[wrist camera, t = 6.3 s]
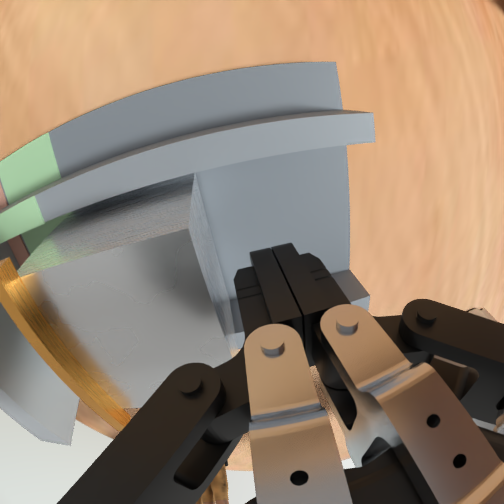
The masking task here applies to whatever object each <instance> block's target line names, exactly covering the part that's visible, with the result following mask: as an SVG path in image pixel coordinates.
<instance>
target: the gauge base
mask: <svg viewBox="0 0 504 504" xmlns="http://www.w3.org/2000/svg"><path fill="white" fill-rule="evenodd" d="M372 142H375V129H374V117H373V113H370V112H361V111H351V110H343V108H342V100H341V93H340V86H339V79H338V73H337V67H336V62H303V63H287V64H275V65H265V66H256V67H249V68H242V69H235V70H229V71H224V72H218V73H213V74H208V75H203V76H199V77H194V78H190V79H186V80H182V81H178V82H174V83H171V84H167V85H163V86H160V87H157V88H153V89H150V90H147V91H144V92H141V93H138V94H135V95H132V96H129V97H126V98H124V99H121V100H118V101H115V102H113V103H110V104H108V105H105V106H103V107H100V108H98V109H96V110H93V111H91V112H89V113H86V114H84V115H82V116H80V117H78V118H76V119H74V120H71V121H69V122H67V123H65V124H63V125H61V126H59V127H57V128H56V129H54V130H52V131H50V132H48V133H46V134H44V135H42V136H40V137H39V138H37V139H35V140H33V141H32V142H30V143H28V144H27V145H25V146H23V147H22V148H20V149H19V150H17V151H16V152H14V153H12V154H11V155H9V156H8V157H6V158H5V159H4V160H2V161H1V162H0V261H1V260H3V259H5V258H8V257H10V259H11V261H12V263H13V265H14V267H15V269H16V271H18V269H19V268H20V267H21V266H22V264H23V263H24V262H25V261H26V260H27V258H28V257H29V256H30V255H31V254H32V253H33V252H34V250H35V249H36V248H37V247H38V246H39V245H40V244H41V243H42V242H43V240H44V239H45V238H46V237H47V236H48V235H49V234H50V233H51V232H52V231H53V230H54V229H55V228H56V227H57V226H58V225H59V224H60V223H61V222H62V221H63V220H64V219H65V218H66V217H67V216H68V215H69V214H70V213H71V212H72V211H75V210H77V209H80V208H83V207H85V206H88V205H91V204H93V203H96V202H99V201H102V200H105V199H108V198H111V197H114V196H117V195H120V194H123V193H126V192H129V191H132V190H135V189H139V188H142V187H145V186H148V185H152V184H155V183H159V182H162V181H166V180H169V179H173V178H177V177H180V176H184V175H188V174H192V173H196V177H197V181H198V185H199V189H200V193H201V197H202V201H203V205H204V209H205V213H206V216H207V220H208V224H209V228H210V231H211V235H212V239H213V243H214V246H215V250H216V253H217V257H218V261H219V264H220V268H221V271H222V275H223V278H224V282H225V285H226V289H227V292H228V296H229V300H230V306H231V312H232V318H233V323H234V329H235V335H236V341H237V346H238V349H241V348H242V346H243V344H244V341H245V334H244V329H243V324H242V319H241V314H240V310H239V305H238V300H237V295H236V290H235V285H234V280H233V279H234V277H235V275H236V272H237V270H238V269H242V268H246V267H250V266H252V265H251V260H250V255H249V252H251V251H256V250H260V249H264V248H269V247H270V249H271V247H273V246H277V245H281V244H286V243H290V242H291V243H292V244H293V245H294V247H295V248H296V250H297V252H298V253H299V255H300V254H305V253H311V254H312V255H314V256H316V257H318V258H319V259H320V260H321V261H322V262H323V264H324V265H325V267H326V269H327V270H328V271H329V272H330V274H331V276H332V277H333V278H334V279H335V281H336V282H337V284H338V285H339V287H340V288H341V290H342V291H343V292H344V294H345V295H346V297H347V298H348V300H349V301H350V303H351V304H352V305H357V306H360V307H362V308H364V309H365V310H367V311H368V308H369V300H370V295H369V294H368V292H367V291H366V290H365V289H364V287H363V286H362V285H361V283H360V282H359V281H358V280H357V278H356V277H355V276H354V275H353V273H352V272H351V271H350V270H349V261H350V203H349V178H348V161H347V147H346V145H351V144H361V143H372ZM79 399H80V398H79V397H78V396H77V395H76V394H75V393H74V392H73V391H72V390H71V389H70V388H69V387H68V386H67V385H66V384H65V383H64V382H63V381H62V380H61V379H60V378H59V377H58V376H57V375H56V374H55V372H54V371H53V370H52V369H51V368H50V367H49V366H48V365H47V364H46V362H45V361H44V360H43V359H42V358H41V357H40V355H39V354H38V353H37V352H36V351H35V349H34V348H33V347H32V346H31V344H30V343H29V342H28V340H27V339H26V338H25V337H24V335H23V334H22V333H21V331H20V330H19V328H18V327H17V326H16V324H15V323H14V321H13V320H12V319H11V317H10V316H9V314H8V313H7V311H6V310H5V308H4V307H3V305H2V303H1V302H0V408H1V409H2V410H3V411H4V412H5V413H6V414H8V415H9V416H10V417H11V418H12V419H14V420H15V421H16V422H17V423H19V424H20V425H21V426H22V427H23V428H25V429H26V430H27V431H29V432H30V433H31V434H33V435H34V436H36V437H37V438H38V439H40V440H42V441H46V442H51V443H57V444H63V445H71V441H72V434H73V429H74V424H75V418H76V413H77V409H78V404H79Z"/></svg>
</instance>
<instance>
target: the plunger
mask: <svg viewBox="0 0 504 504" xmlns="http://www.w3.org/2000/svg"><path fill="white" fill-rule="evenodd" d="M0 302H1V303H2V305H3V307H4V308H5V310H6V311H7V313H8V314H9V316H10V317H11V319H12V320H13V321H14V323H15V324H16V326H17V327H18V328H19V330H20V331H21V333H22V334H23V335H24V337H25V338H26V339H27V340H28V342H29V343H30V344H31V346H32V347H33V348H34V349H35V351H36V352H37V353H38V354H39V355H40V357H41V358H42V359H43V360H44V361H45V362H46V364H47V365H48V366H49V367H50V368H51V369H52V370H53V371H54V372H55V374H56V375H57V376H58V377H59V378H60V379H61V380H62V381H63V382H64V383H65V384H66V385H67V386H68V387H69V388H70V389H71V390H72V391H73V392H74V393H75V394H76V395H77V396H78V397H79V398H80V399H81V400H82V401H83V402H84V403H85V404H87V405H88V406H89V407H90V408H91V409H92V410H93V411H94V412H95V413H97V414H98V415H99V416H100V417H101V418H102V419H104V420H105V421H106V422H107V423H109V424H110V425H111V426H112V427H113V428H115V429H116V430H117V431H122V429H123V428H124V427H125V426H126V425H127V424H128V423H129V421H130V415H129V414H128V413H127V412H126V411H125V410H123V409H129V408H141V407H142V406H143V405H144V404H145V403H146V402H147V400H148V399H149V398H150V397H151V396H152V394H153V393H154V392H155V391H156V390H157V389H158V387H159V386H160V385H161V384H162V383H163V381H164V380H165V379H166V378H167V377H168V376H169V374H170V373H171V372H172V371H174V370H175V369H176V368H178V367H180V366H182V365H184V364H188V363H204V364H207V365H209V366H211V367H212V368H215V367H217V366H219V365H221V364H223V363H225V362H227V361H228V360H230V359H232V358H233V357H234V356H236V354H237V353H238V346H237V341H236V335H235V329H234V323H233V318H232V312H231V306H230V300H229V296H228V292H227V289H226V285H225V282H224V278H223V275H222V271H221V268H220V264H219V261H218V257H217V253H216V250H215V246H214V243H213V239H212V235H211V231H210V228H209V224H208V220H207V216H206V213H205V209H204V205H203V201H202V197H201V193H200V189H199V185H198V181H197V177H196V173H192V174H188V175H184V176H180V177H177V178H173V179H169V180H166V181H162V182H159V183H155V184H152V185H148V186H145V187H142V188H139V189H135V190H132V191H129V192H126V193H123V194H120V195H117V196H114V197H111V198H108V199H105V200H102V201H99V202H96V203H93V204H91V205H88V206H85V207H83V208H80V209H77V210H75V211H72V212H71V213H70V214H69V215H68V216H67V217H66V218H65V219H64V220H63V221H62V222H61V223H60V224H59V225H58V226H57V227H56V228H55V229H54V230H53V231H52V232H51V233H50V234H49V235H48V236H47V237H46V238H45V239H44V240H43V242H42V243H41V244H40V245H39V246H38V247H37V248H36V249H35V250H34V252H33V253H32V254H31V255H30V256H29V257H28V258H27V260H26V261H25V262H24V263H23V264H22V266H21V267H20V268H19V269H18V271H16V269H15V267H14V265H13V263H12V261H11V259H10V257H8V258H5V259H3V260H1V261H0Z"/></svg>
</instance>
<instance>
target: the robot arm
mask: <svg viewBox="0 0 504 504" xmlns="http://www.w3.org/2000/svg"><path fill="white" fill-rule="evenodd" d="M249 255H250V260H251V265H252V266H250V267H246V268H242V269H238V270H237V272H236V275H235V277H234V279H233V280H234V285H235V290H236V295H237V300H238V305H239V310H240V314H241V319H242V324H243V329H244V334H245V341H244V344H243V346H242V348H241V350H240V351H239V352H238V353H237V354H236V356H234V357H233V358H232V359H230V360H228V361H227V362H225V363H223V364H221V365H219V366H217V367H215V368H212V367H211V366H209V365H207V364H204V363H188V364H184V365H182V366H180V367H178V368H176V369H175V370H174V371H172V372H171V373H170V374H169V376H168V377H167V378H166V379H165V380H164V381H163V383H162V384H161V385H160V386H159V387H158V389H157V390H156V391H155V392H154V393H153V394H152V396H151V397H150V398H149V399H148V400H147V402H146V403H145V404H144V405H143V406H142V407H141V409H140V410H139V411H138V412H137V413H136V414H135V416H134V417H133V418H132V419H131V420H130V421H129V423H128V424H127V425H126V426H125V427H124V428H123V429H122V431H121V432H120V433H119V434H118V435H117V436H116V438H115V439H114V440H113V441H112V442H111V443H110V444H109V446H108V447H107V448H106V449H105V450H104V451H103V452H102V454H101V455H100V456H99V457H98V458H97V459H96V460H95V462H94V463H93V464H92V465H91V466H90V467H89V468H88V469H87V471H86V472H85V473H84V474H83V475H82V476H81V477H80V478H79V480H78V481H77V482H76V483H75V484H74V485H73V486H72V487H71V488H70V490H69V491H68V492H67V493H66V494H65V495H64V496H63V497H62V499H61V500H60V501H59V502H58V503H57V504H196V502H197V501H198V500H199V498H200V497H201V496H202V494H203V493H204V492H205V490H206V489H207V488H208V486H209V485H210V483H211V482H212V481H213V479H214V478H215V476H216V475H217V474H218V472H219V471H220V469H221V468H222V466H223V465H224V464H225V462H226V461H227V459H228V458H229V456H230V455H231V453H232V452H233V450H234V449H235V447H236V446H237V444H238V442H239V441H240V439H241V438H242V436H243V434H245V433H247V432H249V438H250V447H251V456H252V465H253V473H254V482H255V490H256V497H255V498H253V499H251V500H250V501H248V502H247V503H245V504H504V324H502V323H499V322H497V321H496V320H495V319H494V318H493V316H492V315H491V314H490V313H489V312H488V311H487V310H486V309H485V308H484V309H482V310H479V309H473V310H471V311H469V312H466V311H463V310H460V309H457V308H454V307H451V306H448V305H445V304H441V303H438V302H435V301H432V300H428V299H417V300H413V301H411V302H409V303H408V304H407V305H406V306H405V308H404V309H403V313H402V315H397V316H385V317H375V316H372V315H371V314H370V313H369V312H368V311H367V310H365V309H364V308H362V307H360V306H357V305H352V304H351V303H350V301H349V300H348V298H347V297H346V295H345V294H344V292H343V291H342V290H341V288H340V287H339V285H338V284H337V282H336V281H335V279H334V278H333V277H332V276H331V274H330V272H329V271H328V270H327V269H326V267H325V265H324V264H323V262H322V261H321V260H320V259H319V258H318V257H316V256H314V255H312V254H311V253H305V254H300V255H299V253H298V252H297V250H296V248H295V247H294V245H293V244H292V243H291V242H290V243H286V244H281V245H277V246H273V247H271V249H270V247H269V248H264V249H260V250H256V251H251V252H249ZM314 365H315V366H316V368H317V370H318V373H319V385H320V388H321V390H322V392H323V393H324V395H325V397H326V399H327V401H328V403H329V405H330V407H331V409H332V411H333V413H334V415H335V417H336V419H337V421H338V423H339V425H340V427H341V429H342V431H343V433H344V436H345V439H346V445H347V449H348V452H349V454H350V457H351V459H352V461H353V462H354V465H355V466H356V468H350V469H343V466H342V462H341V458H340V455H339V451H338V448H337V444H336V440H335V437H334V433H333V430H332V426H331V423H330V420H329V417H328V414H327V412H326V410H325V408H324V407H322V406H321V404H320V402H319V398H318V395H317V391H316V388H315V385H314V381H313V378H312V374H311V371H310V367H311V366H314Z"/></svg>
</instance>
